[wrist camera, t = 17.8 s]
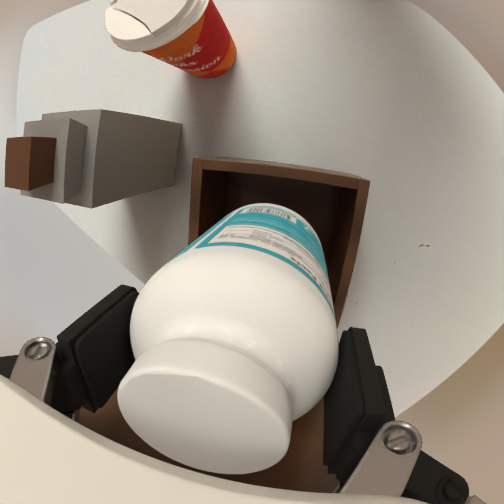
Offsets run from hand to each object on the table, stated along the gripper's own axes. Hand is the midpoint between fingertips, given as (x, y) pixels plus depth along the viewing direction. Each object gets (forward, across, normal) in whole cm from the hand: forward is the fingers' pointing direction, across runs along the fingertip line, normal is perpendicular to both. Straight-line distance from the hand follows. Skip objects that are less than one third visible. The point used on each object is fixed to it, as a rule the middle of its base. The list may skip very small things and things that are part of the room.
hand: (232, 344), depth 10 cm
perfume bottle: (+21, +15, -6) cm, 26 cm away
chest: (+20, 0, +2) cm, 21 cm away
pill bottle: (+10, 0, 0) cm, 10 cm away
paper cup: (+21, +9, -17) cm, 28 cm away
